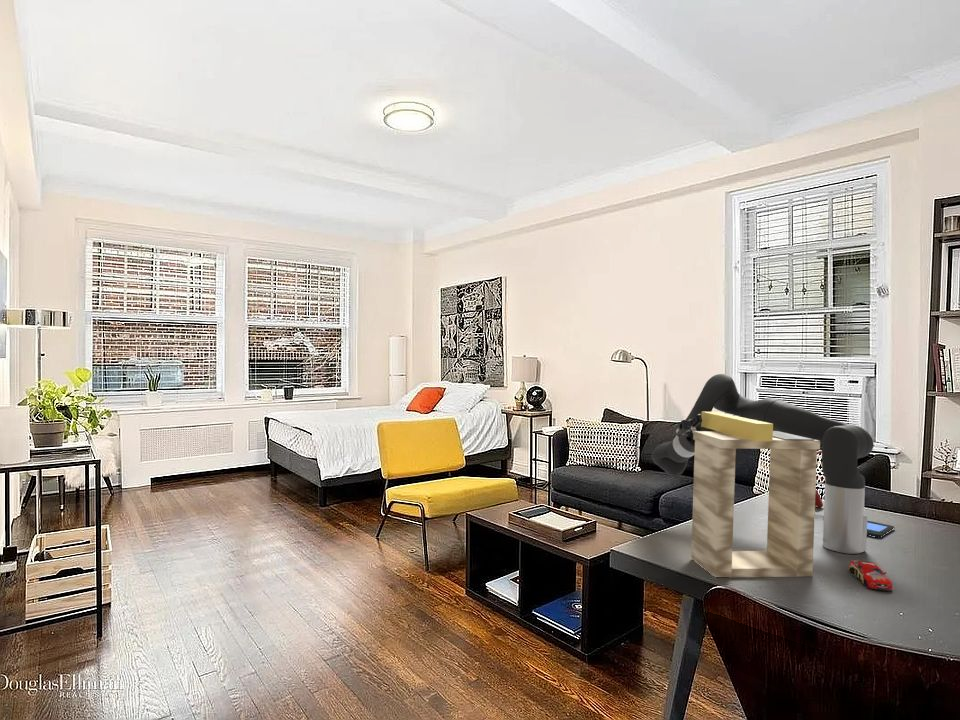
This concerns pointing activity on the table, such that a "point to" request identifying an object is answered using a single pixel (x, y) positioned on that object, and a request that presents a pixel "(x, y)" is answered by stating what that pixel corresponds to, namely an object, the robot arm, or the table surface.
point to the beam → (738, 426)
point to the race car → (870, 575)
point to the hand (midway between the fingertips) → (716, 417)
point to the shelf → (785, 507)
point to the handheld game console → (877, 529)
